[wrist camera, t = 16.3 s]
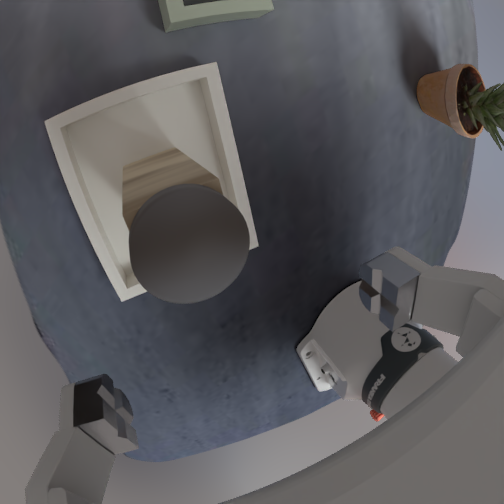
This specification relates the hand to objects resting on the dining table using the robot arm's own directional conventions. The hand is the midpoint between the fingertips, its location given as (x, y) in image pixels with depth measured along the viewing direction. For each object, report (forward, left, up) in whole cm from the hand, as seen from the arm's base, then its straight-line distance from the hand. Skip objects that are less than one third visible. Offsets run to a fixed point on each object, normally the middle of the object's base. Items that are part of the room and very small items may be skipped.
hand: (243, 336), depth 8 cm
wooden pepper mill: (0, 0, -19) cm, 18 cm away
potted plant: (+3, -35, -20) cm, 40 cm away
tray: (0, 0, -19) cm, 19 cm away
